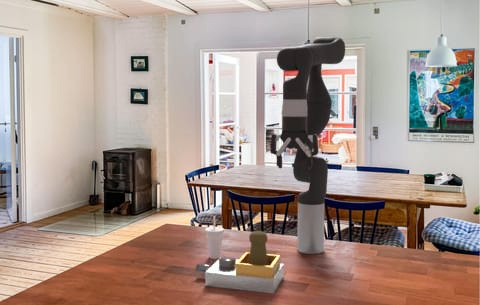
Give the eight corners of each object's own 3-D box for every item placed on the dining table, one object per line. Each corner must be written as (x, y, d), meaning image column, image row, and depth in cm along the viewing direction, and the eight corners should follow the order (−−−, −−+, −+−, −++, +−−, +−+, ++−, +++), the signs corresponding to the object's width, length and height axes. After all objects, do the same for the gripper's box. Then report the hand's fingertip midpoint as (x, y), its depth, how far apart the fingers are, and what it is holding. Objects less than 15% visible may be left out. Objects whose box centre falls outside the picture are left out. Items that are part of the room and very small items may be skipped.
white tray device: (205, 268, 153) (205, 247, 152) (283, 276, 145) (283, 254, 145) (189, 283, 140) (188, 260, 139) (273, 293, 133) (273, 268, 132)
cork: (243, 269, 141) (243, 232, 139) (257, 263, 145) (257, 228, 144) (259, 274, 136) (259, 236, 135) (272, 268, 141) (273, 231, 140)
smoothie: (224, 253, 167) (223, 214, 166) (224, 259, 161) (223, 218, 159) (205, 254, 167) (205, 214, 165) (204, 260, 161) (204, 218, 159)
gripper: (320, 114, 146) (319, 167, 148) (274, 114, 150) (273, 166, 152) (316, 115, 139) (316, 171, 141) (268, 115, 143) (268, 169, 145)
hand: (294, 168), depth 146 cm, fingers open, 8 cm apart
